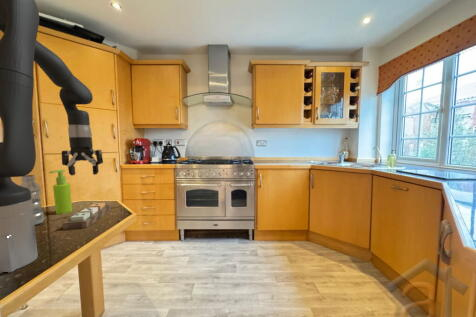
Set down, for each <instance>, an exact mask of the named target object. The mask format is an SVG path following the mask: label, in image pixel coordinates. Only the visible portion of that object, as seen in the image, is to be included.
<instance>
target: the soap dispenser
mask: <svg viewBox="0 0 476 317" xmlns="http://www.w3.org/2000/svg"><path fill="white" fill-rule="evenodd" d="M65 171H66V170H64V169H57V170H51V171H49V174H54V173H57V177H56V178H55V182H56V184H54V185H53V186H52V188H53V190H52V191H53V198H54V206H55V214H56V215H63V214H68V213H71V212H72V211H73V205H72V204H73V203H72V194H71V184H70V182H69V183H67V177H66V176H64V172H65Z"/></svg>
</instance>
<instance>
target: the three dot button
mask: <svg viewBox="0 0 476 317" xmlns="http://www.w3.org/2000/svg"><path fill="white" fill-rule="evenodd" d="M97 211H98V207H92V208H89V207H86V208H83V209H82V210H80V212H79V213H87V212H90V214H94V213H96V212H97Z"/></svg>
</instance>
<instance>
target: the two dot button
mask: <svg viewBox="0 0 476 317" xmlns="http://www.w3.org/2000/svg"><path fill="white" fill-rule="evenodd" d="M88 217H90V212H87V213H81V212H77V213H75V214H74V215H72V216H70V219H71V221H82V220H85V219H87V218H88Z"/></svg>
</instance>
